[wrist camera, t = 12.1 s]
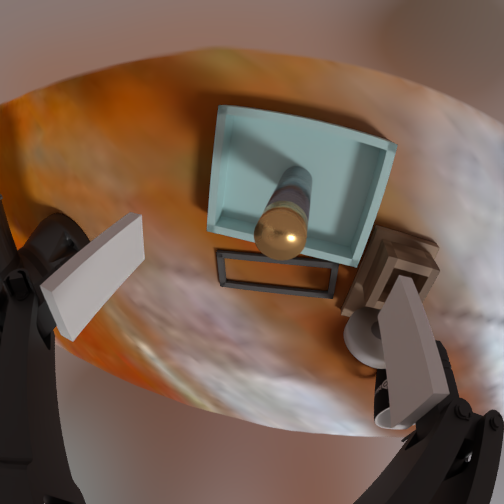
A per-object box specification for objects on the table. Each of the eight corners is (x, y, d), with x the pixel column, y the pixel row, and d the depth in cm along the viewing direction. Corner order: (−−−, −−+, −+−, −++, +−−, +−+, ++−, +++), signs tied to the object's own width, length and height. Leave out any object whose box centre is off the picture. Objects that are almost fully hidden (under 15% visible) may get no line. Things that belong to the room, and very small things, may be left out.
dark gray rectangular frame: (221, 284, 35) (220, 286, 35) (217, 250, 32) (216, 252, 32) (332, 296, 32) (332, 298, 32) (338, 261, 29) (338, 263, 29)
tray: (216, 219, 30) (206, 230, 28) (229, 104, 24) (218, 105, 21) (354, 252, 28) (356, 267, 26) (389, 140, 22) (397, 144, 19)
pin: (278, 192, 27) (250, 253, 16) (284, 163, 25) (258, 207, 15) (308, 198, 26) (299, 265, 16) (315, 170, 25) (311, 220, 15)
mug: (385, 337, 33) (393, 398, 25) (435, 343, 32) (449, 399, 24) (356, 383, 40) (355, 435, 31) (401, 386, 38) (405, 436, 30)
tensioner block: (340, 309, 33) (341, 366, 25) (375, 224, 26) (393, 273, 19) (395, 321, 32) (405, 376, 24) (436, 243, 25) (466, 293, 18)
